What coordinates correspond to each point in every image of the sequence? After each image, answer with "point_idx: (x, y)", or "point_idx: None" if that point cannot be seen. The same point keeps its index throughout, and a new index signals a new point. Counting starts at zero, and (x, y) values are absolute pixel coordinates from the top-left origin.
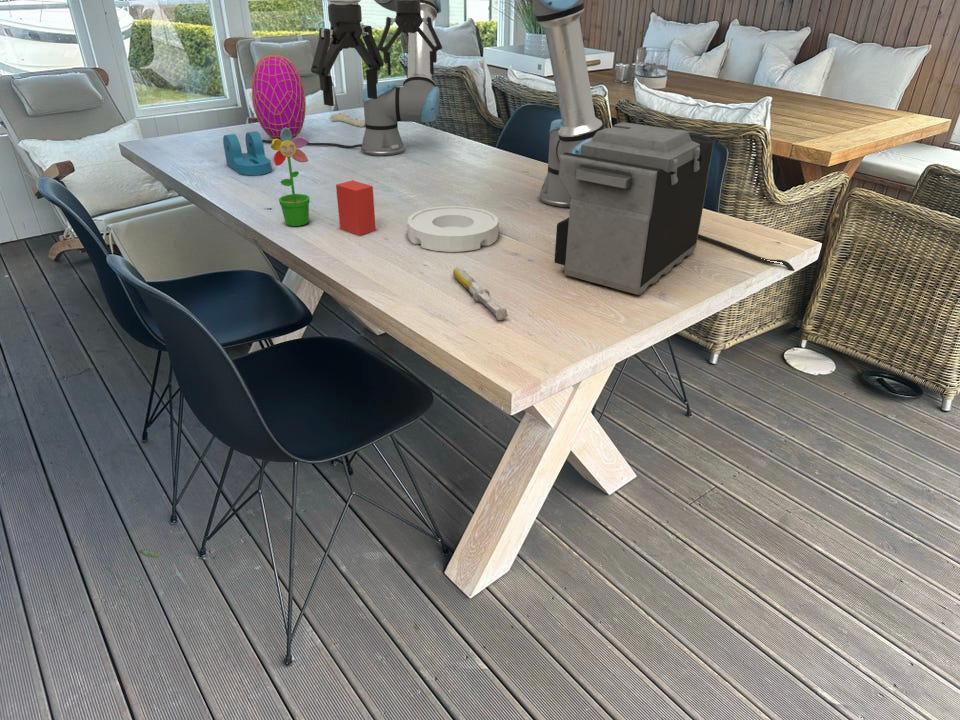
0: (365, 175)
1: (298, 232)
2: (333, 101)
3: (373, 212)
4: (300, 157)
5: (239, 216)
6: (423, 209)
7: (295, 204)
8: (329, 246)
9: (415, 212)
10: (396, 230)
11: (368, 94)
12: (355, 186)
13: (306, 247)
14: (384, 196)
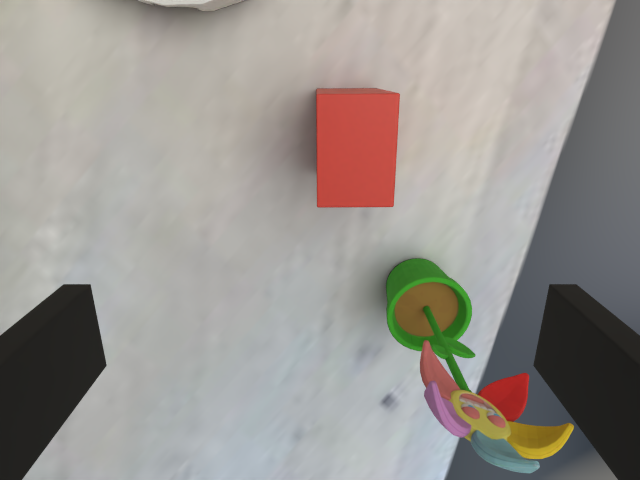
0: (51, 443)
1: (458, 230)
2: (566, 301)
3: (321, 90)
4: (436, 370)
5: None
6: (165, 4)
7: (454, 281)
8: (485, 87)
9: (207, 1)
10: (275, 41)
11: (91, 370)
12: (363, 138)
13: (524, 128)
14: (115, 288)
